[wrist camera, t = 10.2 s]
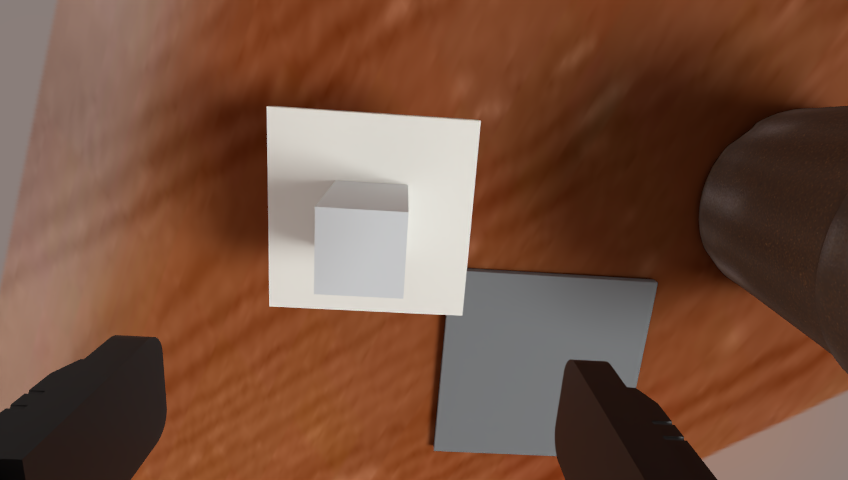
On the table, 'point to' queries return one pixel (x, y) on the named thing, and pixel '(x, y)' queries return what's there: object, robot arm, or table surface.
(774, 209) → the plant pot
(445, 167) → the lid
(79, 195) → the table surface
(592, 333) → the mat
